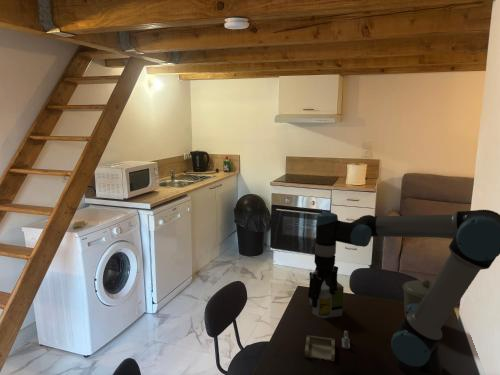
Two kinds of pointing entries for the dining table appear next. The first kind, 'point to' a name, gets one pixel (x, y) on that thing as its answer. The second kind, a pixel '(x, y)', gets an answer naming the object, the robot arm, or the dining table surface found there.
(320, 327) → the dining table surface
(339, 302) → the tea box
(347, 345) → the clip
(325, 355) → the square tray
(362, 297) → the dining table surface
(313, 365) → the dining table surface
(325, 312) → the pill bottle
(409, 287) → the canister
